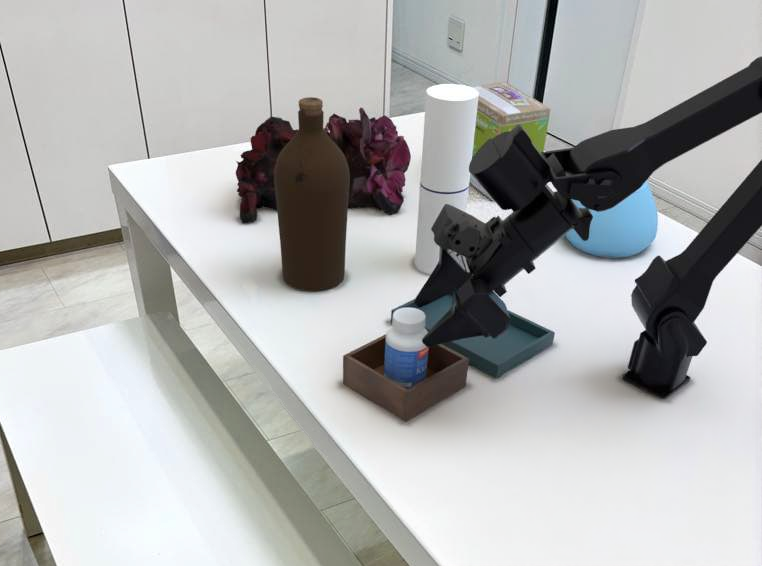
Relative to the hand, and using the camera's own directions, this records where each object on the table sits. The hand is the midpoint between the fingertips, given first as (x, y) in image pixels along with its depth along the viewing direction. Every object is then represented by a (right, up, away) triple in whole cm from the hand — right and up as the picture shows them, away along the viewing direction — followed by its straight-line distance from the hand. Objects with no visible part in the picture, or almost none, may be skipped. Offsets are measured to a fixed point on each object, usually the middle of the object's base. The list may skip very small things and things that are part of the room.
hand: (420, 323), depth 105 cm
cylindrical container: (+5, +17, +30) cm, 35 cm away
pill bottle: (-2, -6, +6) cm, 9 cm away
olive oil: (-14, +14, +27) cm, 33 cm away
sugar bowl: (+33, +23, +37) cm, 55 cm away
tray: (+8, +2, +15) cm, 18 cm away
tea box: (+17, +40, +54) cm, 69 cm away
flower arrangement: (-14, +33, +47) cm, 59 cm away
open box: (-2, -6, +6) cm, 9 cm away
